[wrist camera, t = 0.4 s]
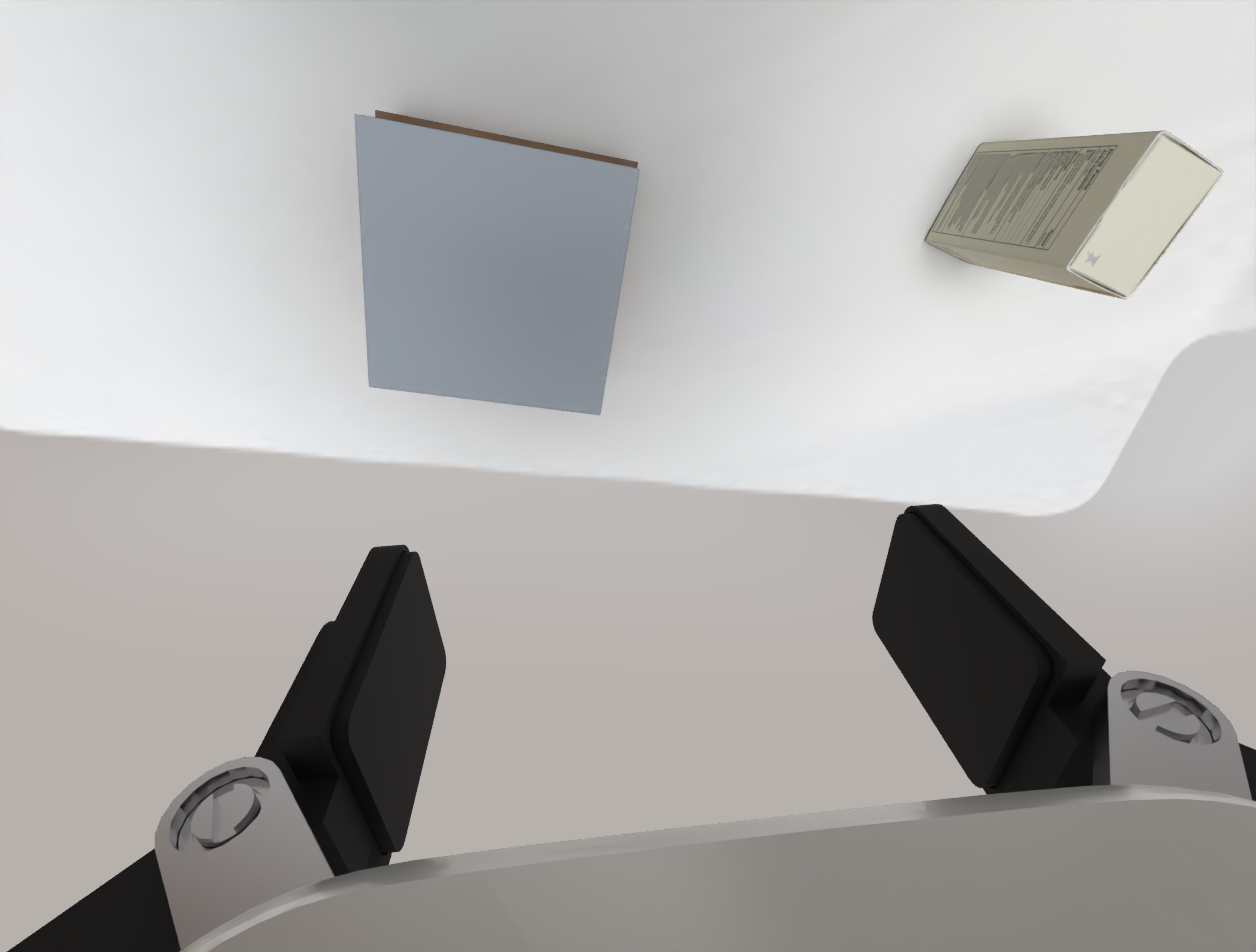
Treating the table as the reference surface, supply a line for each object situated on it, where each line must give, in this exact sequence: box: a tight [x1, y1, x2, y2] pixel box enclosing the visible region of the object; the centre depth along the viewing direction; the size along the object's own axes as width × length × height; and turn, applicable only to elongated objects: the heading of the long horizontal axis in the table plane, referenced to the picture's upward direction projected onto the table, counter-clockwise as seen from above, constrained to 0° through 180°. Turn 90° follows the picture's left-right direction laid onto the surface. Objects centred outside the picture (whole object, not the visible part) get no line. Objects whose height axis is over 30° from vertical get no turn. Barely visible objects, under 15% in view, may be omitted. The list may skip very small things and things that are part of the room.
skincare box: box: [926, 131, 1224, 299], centre depth 31 cm, size 6×4×12 cm
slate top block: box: [355, 114, 639, 415], centre depth 29 cm, size 12×12×5 cm
